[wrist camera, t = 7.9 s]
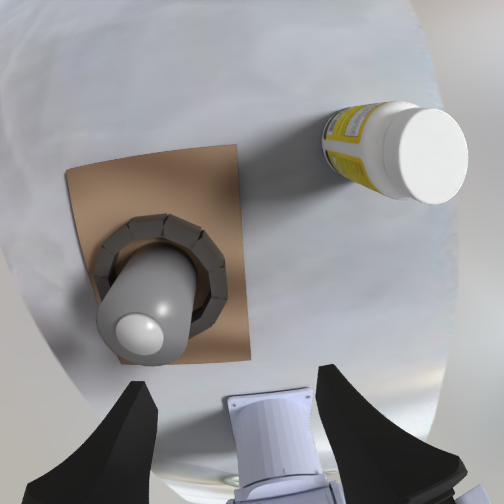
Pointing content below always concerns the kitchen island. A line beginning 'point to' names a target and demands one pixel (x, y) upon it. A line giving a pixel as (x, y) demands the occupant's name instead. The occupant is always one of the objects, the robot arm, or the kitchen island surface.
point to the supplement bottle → (398, 150)
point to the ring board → (171, 234)
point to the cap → (150, 306)
